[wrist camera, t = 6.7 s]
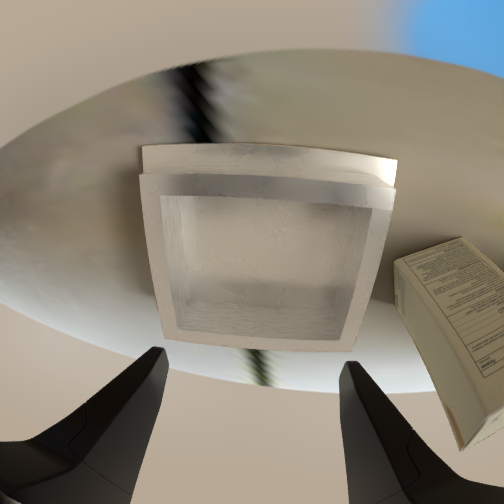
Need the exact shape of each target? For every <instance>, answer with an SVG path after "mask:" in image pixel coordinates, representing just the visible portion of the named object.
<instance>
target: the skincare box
mask: <svg viewBox="0 0 504 504" xmlns="http://www.w3.org/2000/svg"><path fill="white" fill-rule="evenodd" d="M394 289H395V303H396V309H397V311H398V312H399V314H400V316H401V318H402V320H403V322H404V324H405V326H406V328H407V330H408V331H409V333H410V335H411V337H412V339H413V341H414V343H415V345H416V347H417V349H418V351H419V353H420V355H421V357H422V360H423V362H424V364H425V366H426V368H427V370H428V373H429V375H430V377H431V379H432V382H433V384H434V386H435V389H436V391H437V393H438V396H439V398H440V400H441V403H442V405H443V408H444V410H445V413H446V415H447V418H448V420H449V423H450V426H451V428H452V431H453V434H454V436H455V439H456V442H457V444H458V448H459V451H460V452H461V451H464V450H466V449H468V448H469V447H471V446H473V445H475V444H477V443H479V442H480V441H482V440H484V439H485V438H487V437H489V436H491V435H492V434H494V433H496V432H497V431H498V430H500V429H502V428H503V427H504V272H503V271H502V270H501V269H500V268H499V267H498V266H496V265H495V264H494V263H493V262H492V261H491V260H490V259H489V258H487V257H486V256H485V255H484V254H483V253H482V252H481V251H479V250H478V249H477V248H476V247H475V246H473V245H472V244H471V243H470V242H469V241H467V240H466V239H465V238H464V237H461V238H458V239H454V240H451V241H448V242H445V243H442V244H439V245H436V246H433V247H430V248H428V249H425V250H422V251H419V252H416V253H413V254H410V255H408V256H405V257H402V258H399V259H396V260H394Z"/></svg>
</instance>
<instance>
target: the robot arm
mask: <svg viewBox="0 0 504 504" xmlns="http://www.w3.org/2000/svg"><path fill="white" fill-rule="evenodd" d="M168 369H169V362H168V358H167V355H166V351H165V349H164V348H162V347H156V346H154V347H152V348H150V349H149V350H148V351H147V352H146V353H144V354H143V355H142V356H141V357H139V358H138V359H137V360H136V361H135V362H133V364H131V365H130V366H129V367H127V368H126V369H125V370H124V371H123V372H121V373H120V374H119V375H118V376H117V377H115V378H114V379H113V380H112V381H110V382H109V383H108V384H107V385H106V386H104V387H103V388H102V389H101V390H100V391H99V392H97V393H96V394H95V395H93V396H92V397H91V398H90V399H89V400H87V401H86V403H84V404H82V405H81V406H80V407H79V408H77V409H76V410H75V411H73V412H72V413H71V414H70V415H68V416H67V417H65V418H64V419H62V420H61V421H59V422H58V423H56V424H55V425H53V426H52V427H50V428H48V429H47V430H45V431H43V432H42V433H41V434H39V435H37V436H35V437H33V438H31V439H28V440H25V441H12V442H0V504H130V502H131V498H132V494H133V491H134V488H135V484H136V481H137V478H138V474H139V471H140V468H141V465H142V461H143V458H144V455H145V452H146V448H147V446H148V443H149V439H150V436H151V433H152V430H153V427H154V424H155V421H156V418H157V415H158V412H159V409H160V406H161V402H162V397H163V392H164V387H165V383H166V378H167V373H168ZM339 392H340V422H341V430H342V438H343V446H344V454H345V463H346V473H347V483H348V494H349V504H504V487H497V486H492V485H487V484H483V483H478V482H473V481H469V480H467V479H464V478H462V477H460V476H459V475H458V474H456V473H455V472H454V471H453V470H452V469H451V468H450V467H449V466H448V465H447V464H446V463H445V462H444V461H443V460H442V459H440V458H439V457H438V456H437V455H436V454H435V453H434V452H433V451H432V450H431V449H430V448H429V447H428V446H427V444H426V443H425V442H424V441H423V440H422V439H421V437H420V436H419V435H418V434H417V433H416V431H415V430H413V428H412V427H411V425H410V424H409V423H408V422H407V420H406V419H405V418H404V417H403V416H402V414H401V413H400V412H399V411H398V409H397V408H396V407H395V406H394V405H393V403H392V402H391V401H390V400H389V399H388V397H387V396H386V395H385V394H384V392H383V391H382V390H381V389H380V388H379V386H378V385H377V384H376V383H375V381H374V380H373V379H372V378H371V377H370V375H369V374H368V373H367V372H366V371H365V369H364V368H363V367H362V366H361V365H360V363H359V362H357V361H347V362H346V363H345V364H344V367H343V369H342V372H341V374H340V377H339Z"/></svg>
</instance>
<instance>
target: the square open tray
mask: <svg viewBox="0 0 504 504" xmlns="http://www.w3.org/2000/svg"><path fill="white" fill-rule="evenodd" d="M142 157H143V173H141V174H140V175H139V180H140V192H141V202H142V211H143V220H144V228H145V236H146V243H147V250H148V256H149V263H150V269H151V275H152V280H153V286H154V291H155V296H156V301H157V306H158V311H159V316H160V320H161V325H162V329H163V334H164V338H165V339H170V340H177V341H184V342H191V343H199V344H207V345H216V346H226V347H237V348H249V349H262V350H279V351H304V352H351V351H352V348H353V346H354V343H355V340H356V338H357V335H358V332H359V329H360V326H361V323H362V321H363V318H364V315H365V312H366V308H367V305H368V302H369V299H370V296H371V293H372V289H373V286H374V282H375V279H376V276H377V272H378V268H379V265H380V261H381V257H382V253H383V249H384V245H385V241H386V237H387V232H388V228H389V223H390V218H391V214H392V209H393V203H394V198H395V193H396V189H395V188H393V186H394V180H395V173H396V166H397V160H395V159H391V158H386V157H380V156H374V155H368V154H361V153H354V152H347V151H340V150H331V149H322V148H313V147H302V146H289V145H274V144H253V143H178V144H157V145H145V146H142Z"/></svg>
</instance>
